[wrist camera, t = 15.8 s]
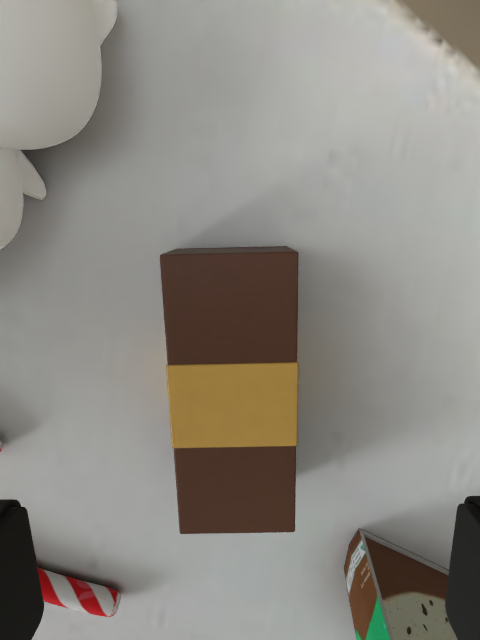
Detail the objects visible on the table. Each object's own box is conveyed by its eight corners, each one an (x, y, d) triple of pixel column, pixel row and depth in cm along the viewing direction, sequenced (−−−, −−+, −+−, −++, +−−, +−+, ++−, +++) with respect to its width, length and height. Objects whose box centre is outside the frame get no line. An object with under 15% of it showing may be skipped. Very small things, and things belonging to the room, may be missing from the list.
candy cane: (79, 655, 21) (-172, 504, 19) (88, 631, 23) (-147, 486, 20) (165, 567, 20) (-95, 392, 18) (170, 546, 21) (-73, 381, 19)
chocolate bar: (189, 482, 20) (178, 535, 17) (174, 248, 17) (157, 254, 14) (287, 480, 20) (296, 533, 17) (288, 245, 17) (300, 251, 14)
